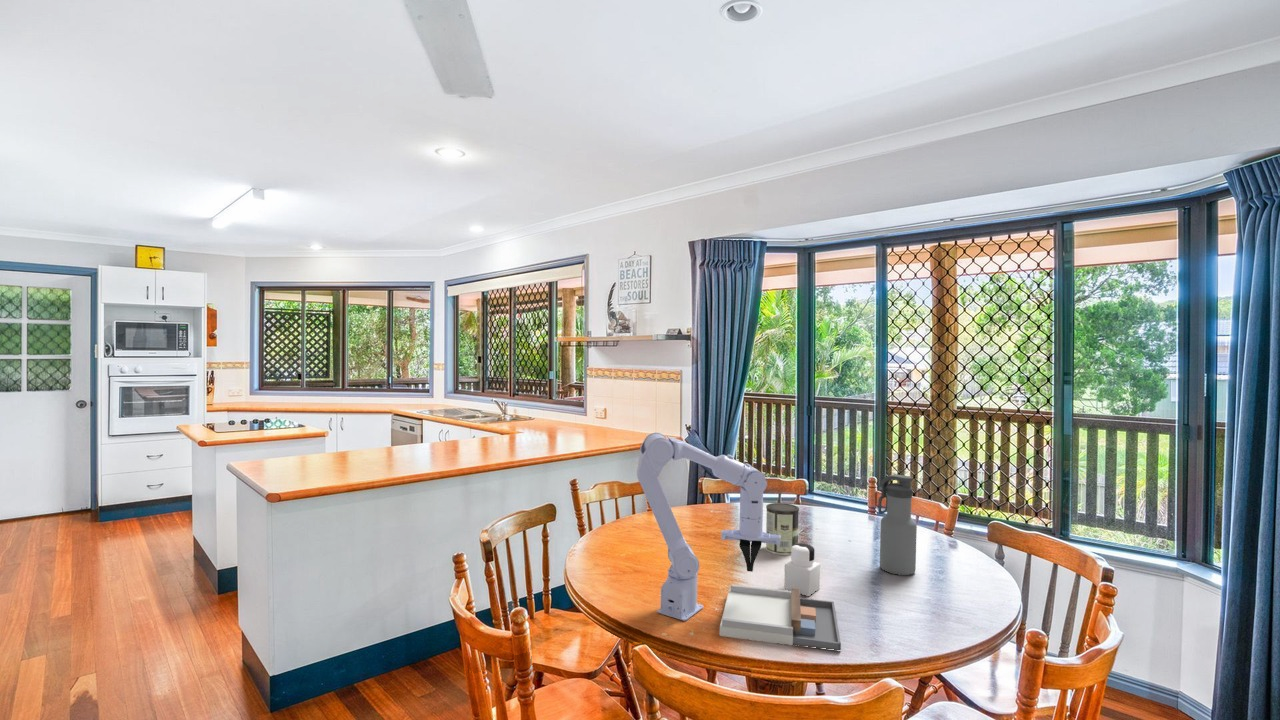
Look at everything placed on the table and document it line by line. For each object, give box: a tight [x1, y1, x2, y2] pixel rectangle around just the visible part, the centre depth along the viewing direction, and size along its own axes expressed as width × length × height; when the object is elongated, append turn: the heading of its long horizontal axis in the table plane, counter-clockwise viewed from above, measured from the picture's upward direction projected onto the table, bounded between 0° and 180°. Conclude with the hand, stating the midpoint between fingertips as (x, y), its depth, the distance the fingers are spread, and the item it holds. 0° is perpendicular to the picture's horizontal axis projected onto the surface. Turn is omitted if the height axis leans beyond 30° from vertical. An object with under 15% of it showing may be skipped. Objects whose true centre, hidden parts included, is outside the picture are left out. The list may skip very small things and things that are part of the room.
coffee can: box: [765, 502, 800, 556], centre depth 193 cm, size 10×10×14 cm
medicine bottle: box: [783, 542, 821, 597], centre depth 162 cm, size 7×7×12 cm
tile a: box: [800, 606, 816, 622], centre depth 144 cm, size 4×4×2 cm
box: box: [793, 597, 842, 650], centre depth 140 cm, size 10×22×2 cm, turn 166°
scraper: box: [791, 588, 801, 632], centre depth 141 cm, size 2×18×2 cm, turn 166°
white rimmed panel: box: [719, 583, 793, 646], centre depth 144 cm, size 16×22×4 cm
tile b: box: [795, 619, 815, 636], centre depth 138 cm, size 4×4×2 cm
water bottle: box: [877, 473, 918, 576], centre depth 177 cm, size 10×10×28 cm
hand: (750, 570), depth 150 cm, fingers closed
